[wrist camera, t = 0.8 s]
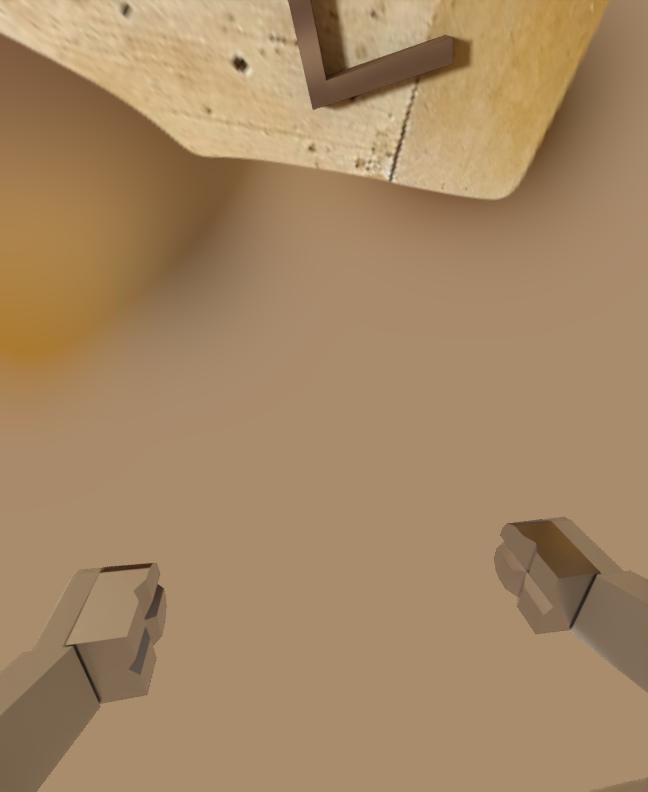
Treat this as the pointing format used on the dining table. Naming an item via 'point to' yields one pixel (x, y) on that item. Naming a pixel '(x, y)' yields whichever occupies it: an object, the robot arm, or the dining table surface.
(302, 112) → the dining table surface
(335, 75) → the bay
